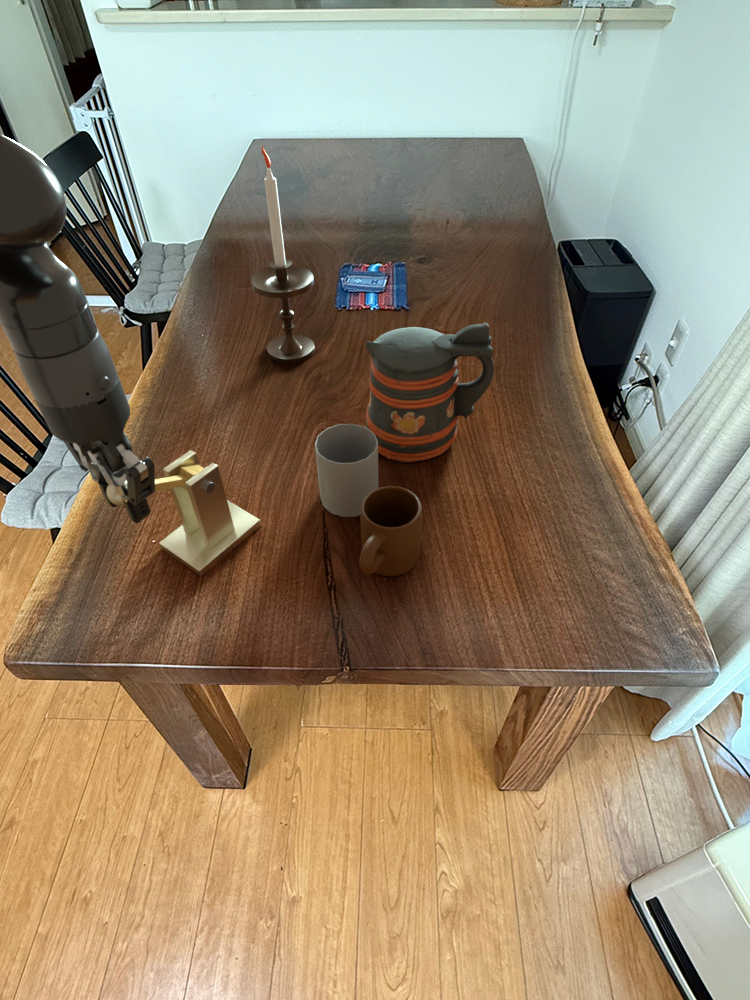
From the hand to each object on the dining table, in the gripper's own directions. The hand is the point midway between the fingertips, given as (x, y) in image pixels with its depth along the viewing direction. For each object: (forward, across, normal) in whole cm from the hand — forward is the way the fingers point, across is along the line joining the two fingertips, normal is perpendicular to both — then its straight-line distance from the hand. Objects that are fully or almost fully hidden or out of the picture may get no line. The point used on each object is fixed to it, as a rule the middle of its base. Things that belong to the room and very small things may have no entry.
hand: (130, 509), depth 67 cm
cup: (+13, +10, +26) cm, 31 cm away
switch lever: (+1, 0, +4) cm, 4 cm away
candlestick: (+13, -24, +51) cm, 57 cm away
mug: (+13, +22, +18) cm, 32 cm away
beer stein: (+13, +11, +44) cm, 48 cm away
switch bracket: (+13, 0, +9) cm, 16 cm away
